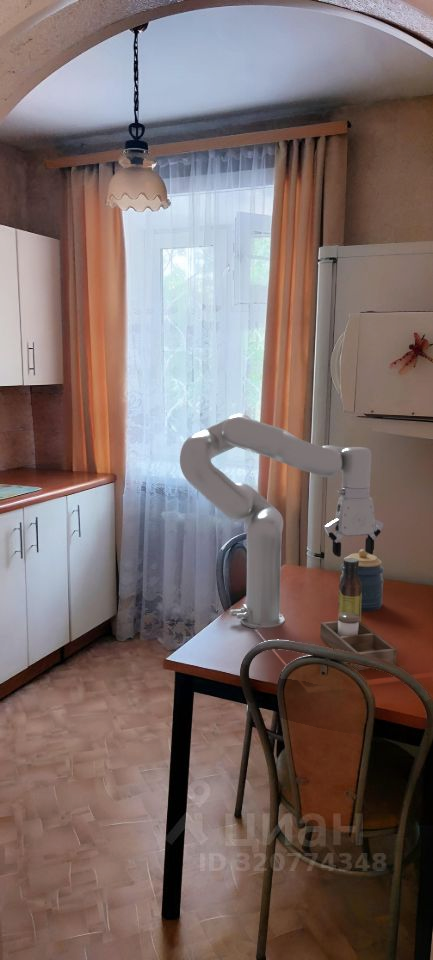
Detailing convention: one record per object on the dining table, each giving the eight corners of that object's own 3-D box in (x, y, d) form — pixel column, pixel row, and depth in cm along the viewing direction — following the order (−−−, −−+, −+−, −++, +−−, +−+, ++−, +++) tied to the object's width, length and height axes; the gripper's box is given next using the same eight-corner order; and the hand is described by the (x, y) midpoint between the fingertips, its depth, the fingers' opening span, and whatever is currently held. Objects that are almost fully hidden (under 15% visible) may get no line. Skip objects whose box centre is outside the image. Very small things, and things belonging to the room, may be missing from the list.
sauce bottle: (345, 621, 189) (348, 554, 186) (364, 627, 185) (368, 559, 182) (332, 627, 184) (335, 559, 181) (351, 634, 180) (355, 563, 177)
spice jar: (342, 648, 169) (343, 620, 168) (333, 639, 174) (334, 613, 173) (361, 645, 171) (363, 618, 169) (352, 637, 176) (353, 611, 174)
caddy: (355, 673, 157) (356, 654, 156) (320, 639, 176) (320, 622, 175) (395, 668, 160) (396, 649, 159) (356, 636, 179) (357, 619, 178)
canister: (389, 604, 204) (393, 549, 201) (368, 615, 194) (371, 557, 191) (352, 595, 212) (355, 541, 209) (330, 605, 203) (333, 549, 200)
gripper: (332, 497, 173) (330, 560, 175) (391, 493, 177) (388, 555, 180) (320, 492, 180) (318, 552, 182) (377, 489, 184) (374, 548, 187)
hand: (353, 554), depth 181 cm, fingers open, 9 cm apart
